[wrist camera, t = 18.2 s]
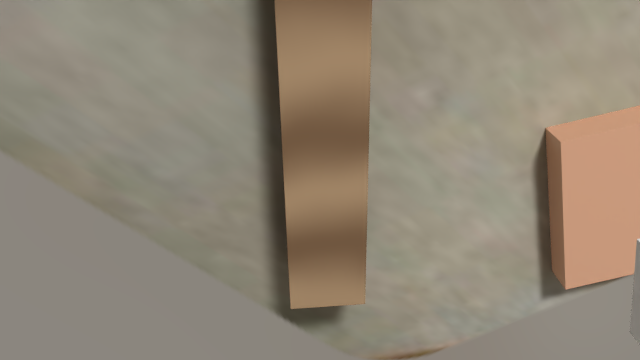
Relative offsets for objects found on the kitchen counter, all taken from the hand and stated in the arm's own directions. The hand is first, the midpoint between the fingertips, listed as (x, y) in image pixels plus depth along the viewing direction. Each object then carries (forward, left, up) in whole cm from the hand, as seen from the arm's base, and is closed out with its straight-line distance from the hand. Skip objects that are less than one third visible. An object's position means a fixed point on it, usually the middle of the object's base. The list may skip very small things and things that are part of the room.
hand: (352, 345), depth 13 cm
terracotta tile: (+5, +17, -18) cm, 26 cm away
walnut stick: (+1, 0, -19) cm, 19 cm away
